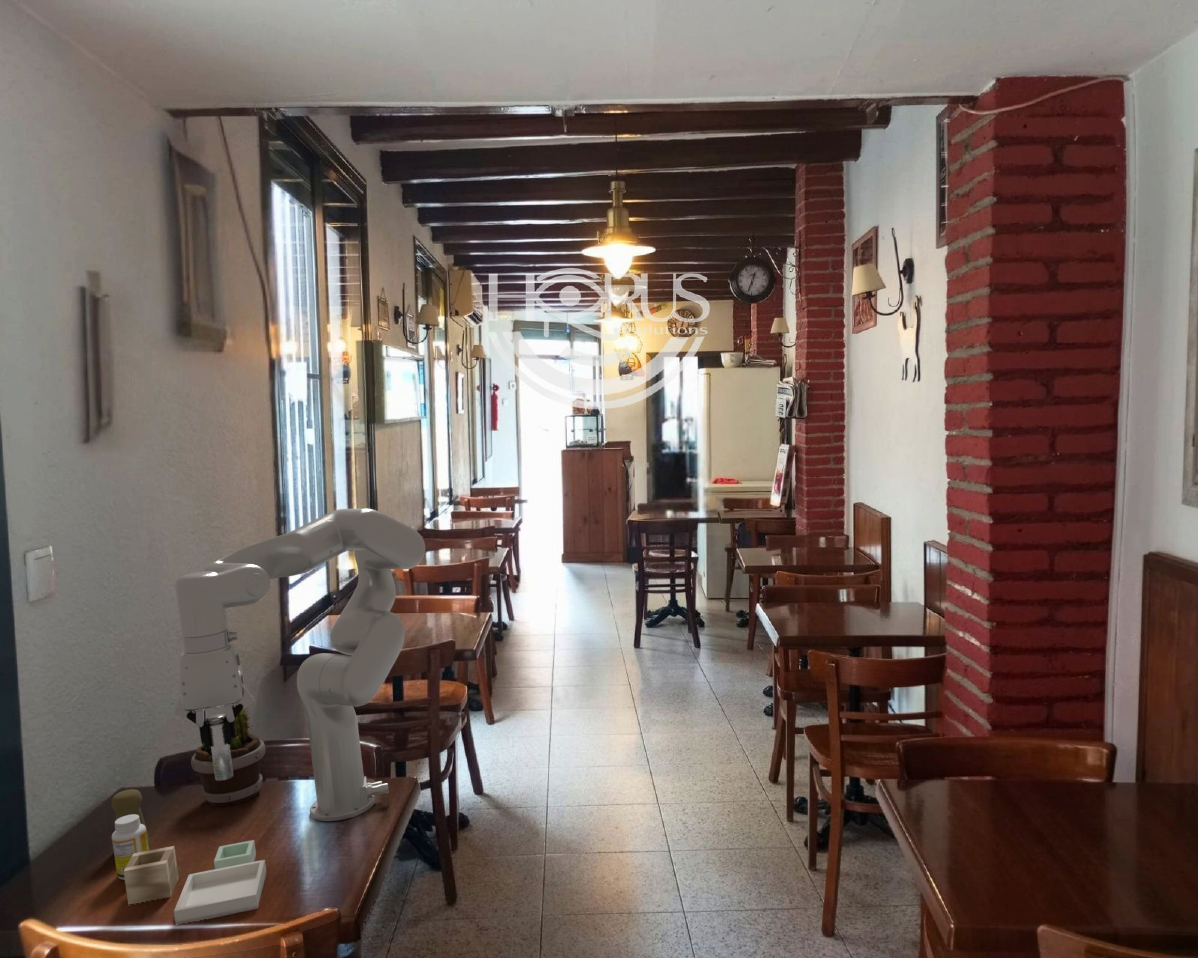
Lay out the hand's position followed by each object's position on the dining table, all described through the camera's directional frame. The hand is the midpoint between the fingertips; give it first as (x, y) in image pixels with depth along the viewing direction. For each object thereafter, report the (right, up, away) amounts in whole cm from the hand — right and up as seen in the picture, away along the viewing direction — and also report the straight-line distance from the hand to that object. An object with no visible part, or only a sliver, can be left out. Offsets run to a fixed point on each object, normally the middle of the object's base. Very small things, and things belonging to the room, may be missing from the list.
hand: (219, 742), depth 164 cm
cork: (-22, -24, +14) cm, 35 cm away
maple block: (-9, -24, -5) cm, 26 cm away
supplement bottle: (-16, -24, +3) cm, 30 cm away
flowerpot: (-11, -21, +34) cm, 41 cm away
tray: (+4, -23, -9) cm, 25 cm away
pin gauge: (+1, -6, 0) cm, 6 cm away
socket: (+2, -23, +2) cm, 23 cm away
